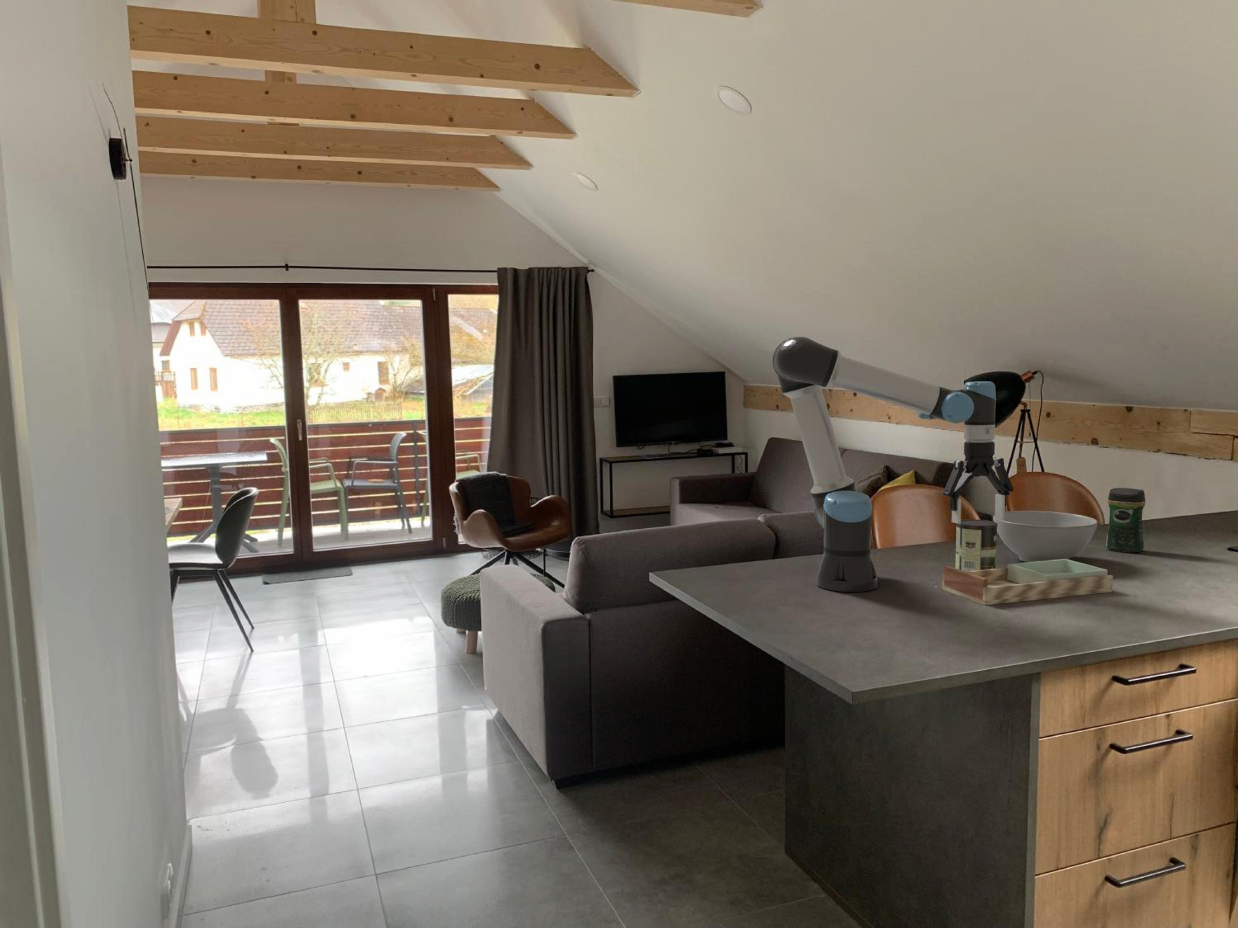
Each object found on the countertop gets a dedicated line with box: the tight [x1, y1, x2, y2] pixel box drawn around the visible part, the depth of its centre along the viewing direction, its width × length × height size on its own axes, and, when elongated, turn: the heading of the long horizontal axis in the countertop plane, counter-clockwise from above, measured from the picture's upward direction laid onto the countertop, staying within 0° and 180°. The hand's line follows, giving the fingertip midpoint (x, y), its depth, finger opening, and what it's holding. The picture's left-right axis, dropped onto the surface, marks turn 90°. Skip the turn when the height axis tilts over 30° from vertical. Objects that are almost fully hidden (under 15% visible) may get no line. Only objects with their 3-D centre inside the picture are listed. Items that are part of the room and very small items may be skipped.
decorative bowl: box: [992, 510, 1099, 563], centre depth 261 cm, size 27×27×12 cm
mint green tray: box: [1007, 558, 1108, 584], centre depth 231 cm, size 18×14×4 cm
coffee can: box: [954, 518, 998, 571], centre depth 245 cm, size 10×10×14 cm
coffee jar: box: [1105, 487, 1147, 553], centre depth 273 cm, size 10×8×19 cm
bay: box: [941, 565, 1114, 606], centre depth 228 cm, size 37×16×6 cm, turn 107°
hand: (978, 521), depth 244 cm, fingers open, 13 cm apart
